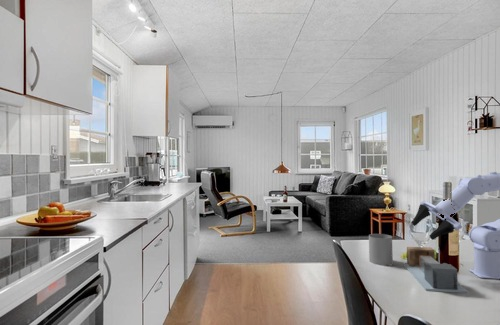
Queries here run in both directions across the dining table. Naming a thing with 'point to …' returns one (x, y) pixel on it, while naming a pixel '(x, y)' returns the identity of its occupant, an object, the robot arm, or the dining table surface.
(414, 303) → the dining table surface
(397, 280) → the dining table surface
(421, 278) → the board
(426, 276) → the sleeve
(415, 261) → the socket
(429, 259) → the bar
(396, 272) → the dining table surface
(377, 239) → the cup
